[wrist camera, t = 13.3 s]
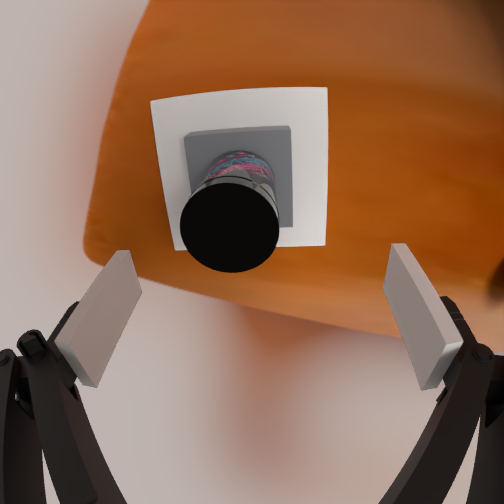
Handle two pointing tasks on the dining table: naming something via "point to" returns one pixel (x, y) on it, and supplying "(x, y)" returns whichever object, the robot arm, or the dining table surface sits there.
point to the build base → (251, 114)
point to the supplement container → (232, 214)
